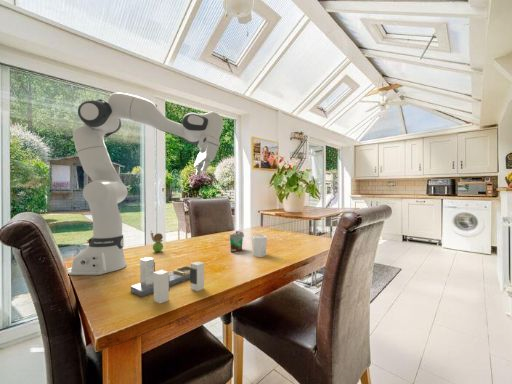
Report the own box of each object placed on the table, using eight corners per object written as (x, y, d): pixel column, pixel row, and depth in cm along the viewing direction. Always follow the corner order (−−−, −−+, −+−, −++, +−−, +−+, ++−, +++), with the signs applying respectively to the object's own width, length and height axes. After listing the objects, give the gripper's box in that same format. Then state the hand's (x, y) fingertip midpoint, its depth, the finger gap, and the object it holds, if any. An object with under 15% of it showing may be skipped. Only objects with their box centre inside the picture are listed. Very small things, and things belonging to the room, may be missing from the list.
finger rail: (141, 297, 79) (141, 263, 79) (130, 291, 83) (130, 259, 83) (202, 274, 100) (202, 247, 100) (191, 270, 104) (191, 245, 104)
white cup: (258, 252, 133) (258, 234, 133) (270, 255, 128) (270, 236, 128) (249, 255, 127) (248, 236, 127) (260, 258, 122) (260, 238, 122)
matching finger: (196, 291, 83) (196, 265, 83) (189, 289, 85) (189, 263, 85) (203, 288, 86) (203, 263, 86) (197, 286, 88) (197, 261, 88)
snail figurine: (151, 251, 137) (150, 230, 137) (163, 250, 139) (163, 229, 139) (150, 253, 132) (150, 231, 131) (163, 252, 134) (163, 230, 134)
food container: (240, 253, 131) (240, 235, 131) (229, 253, 133) (229, 234, 132) (246, 248, 143) (246, 231, 143) (236, 247, 145) (236, 230, 145)
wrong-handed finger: (160, 303, 75) (160, 274, 74) (153, 300, 77) (153, 272, 76) (170, 299, 77) (170, 271, 77) (163, 296, 79) (163, 269, 79)
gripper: (195, 149, 119) (187, 176, 115) (208, 135, 101) (200, 166, 98) (207, 154, 122) (200, 180, 118) (222, 141, 104) (214, 171, 101)
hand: (200, 173), depth 108 cm, fingers open, 8 cm apart
